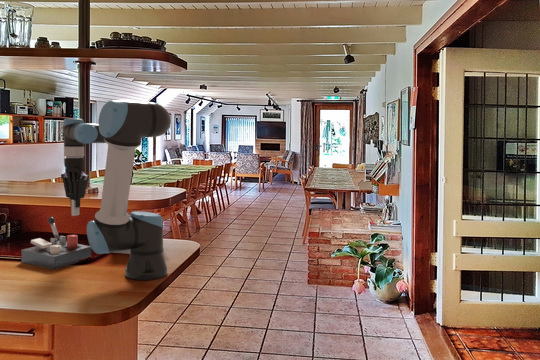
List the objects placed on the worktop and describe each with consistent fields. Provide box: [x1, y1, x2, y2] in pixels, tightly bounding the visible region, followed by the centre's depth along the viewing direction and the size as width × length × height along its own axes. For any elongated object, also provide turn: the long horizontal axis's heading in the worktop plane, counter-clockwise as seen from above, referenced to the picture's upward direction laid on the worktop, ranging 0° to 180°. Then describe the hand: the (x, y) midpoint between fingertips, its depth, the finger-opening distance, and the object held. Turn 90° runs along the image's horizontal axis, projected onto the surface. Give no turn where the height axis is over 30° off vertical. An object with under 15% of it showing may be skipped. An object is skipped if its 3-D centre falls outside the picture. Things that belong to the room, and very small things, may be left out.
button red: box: [66, 234, 79, 249], centre depth 188 cm, size 4×4×5 cm
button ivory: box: [50, 245, 61, 254], centre depth 182 cm, size 4×4×5 cm
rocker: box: [30, 237, 52, 248], centre depth 185 cm, size 7×4×1 cm, turn 65°
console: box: [20, 235, 92, 271], centre depth 187 cm, size 18×18×8 cm
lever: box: [47, 216, 60, 240], centre depth 192 cm, size 3×3×10 cm
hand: (75, 215), depth 190 cm, fingers closed
